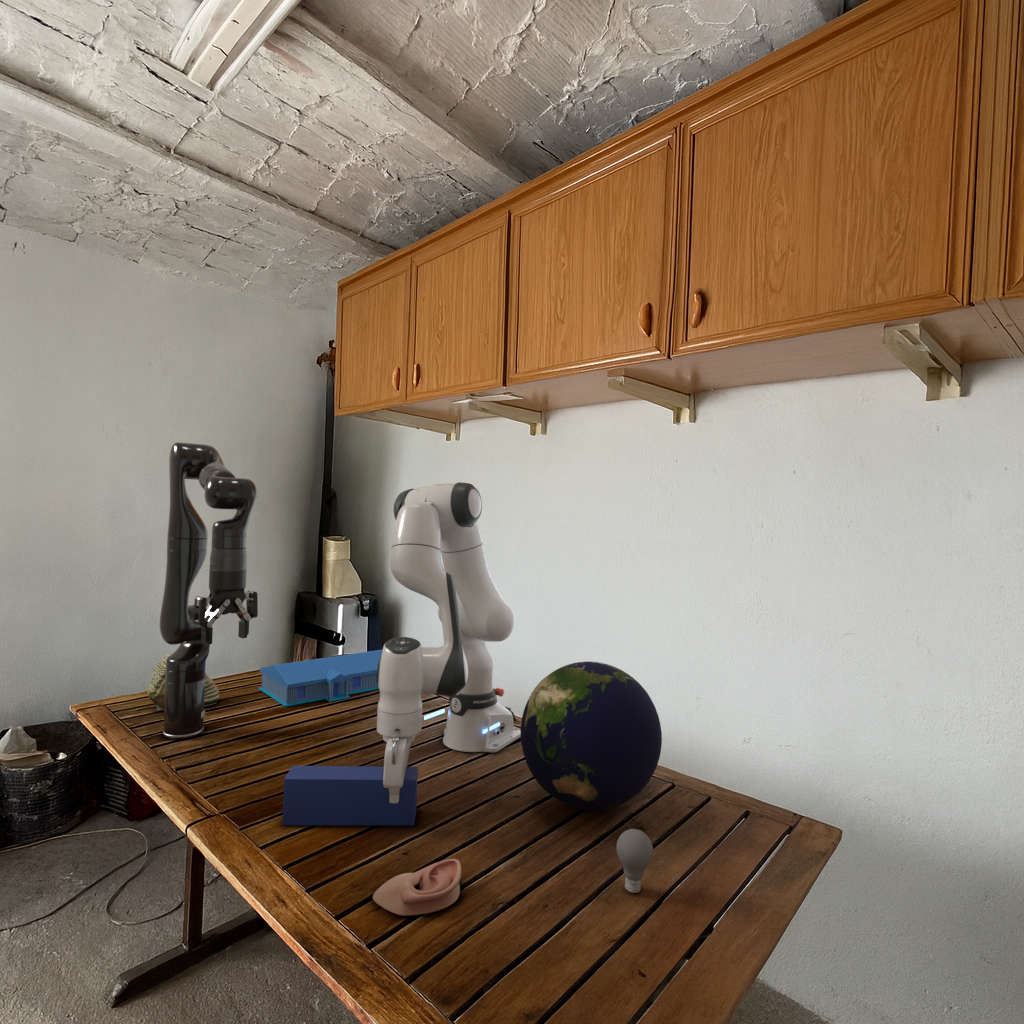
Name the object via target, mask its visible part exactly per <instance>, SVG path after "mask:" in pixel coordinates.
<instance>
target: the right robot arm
mask: <svg viewBox="0 0 1024 1024" xmlns="http://www.w3.org/2000/svg"><path fill="white" fill-rule="evenodd" d="M482 509H483V501H482V496H481V493H480V491H479V490H478V489H477V488H476V487H475V486H474V485H473V484H472V483H468V482H460V481H459V482H456V483H435V484H431V485H427V486H422V487H418V488H408V489H405V490H403V491H402V492H400V493H399V494H398V495H397V496H396V498H395V500H394V502H393V516H394V519H395V523H394V528H393V532H392V537H391V538H392V539H391V545H390V546H391V547H390V571H391V574H392V576H393V577H394V579H395V580H396V581H397V582H398V583H399V584H400V585H402V586H403V587H404V588H406V589H408V590H410V591H412V592H415V593H416V594H419V595H421V596H424V597H426V598H428V599H430V600H431V601H433V602H434V603H435V604H436V605H437V606H438V607H437V608H438V609H437V615H438V619H439V620H440V622H441V626H442V636H443V644H442V645H441V646H438V647H431V646H422V643H421V642H420V641H419V640H418V639H416V638H414V637H410V636H409V637H408V636H397V637H393V638H390V639H389V640H387V641H385V643H383V647H382V650H383V651H382V656H381V657H380V658H379V660H378V664H377V684H378V686H379V689H378V690H379V700H378V702H377V712H376V732H377V733H378V734H379V735H381V736H382V740H383V741H384V742H385V743H386V745H385V749H384V750H385V751H384V760H383V767H384V774H383V785H384V788H389V794H390V797H389V802H390V803H398V802H399V795H400V788H402V786H403V782H404V777H405V772H406V767H408V766H407V765H408V761H409V756H410V750H411V746H412V742H413V741H414V740H415V738H416V735H419V734H420V732H421V731H422V729H423V728H422V725H423V724H422V723H423V720H425V721H426V720H429V719H431V718H434V717H437V716H439V715H442V714H445V712H446V711H445V710H446V709H439V710H437V711H435V712H432V713H429V714H426V715H424V717H423V701H422V694H425V695H436V696H444V697H448V702H449V706H448V712H447V718H446V726H445V728H444V729H443V739H442V744H443V745H444V746H446V747H447V748H449V749H451V750H454V751H458V752H463V753H465V752H466V753H480V752H481V753H483V752H484V753H498V752H499V751H501V750H502V749H505V748H506V747H507V746H509V745H510V744H512V743H514V742H515V741H516V740H518V739H519V738H520V739H521V729H519V727H515V726H514V725H515V724H514V723H515V722H517V721H518V720H517V718H516V716H515V713H514V712H513V711H512V707H509V706H504V705H503V704H501V703H500V702H499V701H498V697H503V696H504V694H505V690H504V688H500V687H496V688H494V681H495V680H494V679H495V660H494V657H493V655H492V653H491V652H490V650H489V648H488V646H487V643H486V642H493V643H494V642H495V643H496V642H498V643H499V642H503V641H505V640H507V639H508V638H509V637H510V636H511V635H512V633H513V632H514V629H515V625H516V615H515V612H514V610H513V609H512V608H511V607H510V606H509V605H508V603H506V601H505V600H504V598H503V596H502V595H501V594H500V592H499V590H498V587H497V586H496V584H495V582H494V580H493V577H492V576H491V575H492V574H491V573H490V569H489V566H488V561H487V556H486V552H485V547H484V542H483V537H482V534H481V530H480V527H479V523H478V520H479V519H480V517H481V515H482ZM497 696H498V697H497Z"/></svg>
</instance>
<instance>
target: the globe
mask: <svg viewBox="0 0 1024 1024" xmlns="http://www.w3.org/2000/svg"><path fill="white" fill-rule="evenodd" d="M521 716H522V717H521V721H520V722H521V723H520V731H521V737H520V744H521V749H522V750H521V751H522V753H523V754H522V755H523V757H524V760H525V763H526V765H527V768H528V769H529V772H530V773H531V775H532V777H533V779H534V780H535V781H536V782H537V784H538V785H539V786H540V787H541V788H542V789H543V790H544V791H545V792H546V793H547V794H549V796H551V797H552V798H554V799H555V800H557V801H558V802H560V803H562V804H564V805H566V806H569V807H572V808H575V809H579V810H582V811H583V810H584V811H603V810H604V811H605V810H609V809H613V808H616V807H619V806H622V805H623V804H626V803H627V802H629V801H631V800H632V799H633V798H635V797H637V795H638V794H639V793H641V792H642V791H643V789H644V788H645V787H646V786H647V784H649V782H650V781H651V780H652V779H651V778H652V777H653V775H654V774H655V772H656V769H657V767H658V764H659V761H660V757H661V753H662V745H663V743H662V742H663V734H662V726H661V720H660V717H659V713H658V710H657V708H656V705H655V703H654V702H653V699H652V698H651V696H650V694H649V693H648V692H647V690H646V689H645V688H644V687H643V686H642V685H641V684H640V683H639V681H638V680H636V679H635V678H634V677H633V676H632V675H630V674H629V673H627V672H626V671H624V670H622V669H621V668H618V667H617V666H614V665H611V664H608V663H604V662H599V661H593V660H592V661H591V660H590V661H578V662H577V661H576V662H572V663H569V664H566V665H564V666H561V667H559V668H557V669H555V670H553V671H552V672H550V673H549V674H547V675H546V676H545V677H544V678H542V679H541V680H540V681H539V683H538V684H537V685H536V686H535V687H534V689H533V690H532V691H531V693H530V695H529V697H528V699H527V701H526V704H525V705H524V709H523V712H522V715H521Z"/></svg>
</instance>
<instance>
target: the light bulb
mask: <svg viewBox="0 0 1024 1024" xmlns="http://www.w3.org/2000/svg"><path fill="white" fill-rule="evenodd" d="M615 849H616V854H617V857H618V859H619V861H620V863H621V865H622V867H623V873H624V874H623V875H624V876H625V878H624V888H625V890H627V891H628V892H630V893H634V894H635V893H639V892H640V891H641V889H642V887H641V886H642V879H643V877H644V875H645V871H646V868H647V867H648V866H649V864H650V863H651V861H652V859H653V855H654V847H653V843H652V841H651V838H649V836H648V835H647V834H646V833H645V832H643V831H642V830H641V829H636V828H629V829H627V830H625V831H623V832H622V833H621V834H620V835H619V837H618V839H617V841H616V847H615Z"/></svg>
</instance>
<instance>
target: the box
mask: <svg viewBox="0 0 1024 1024" xmlns="http://www.w3.org/2000/svg"><path fill="white" fill-rule="evenodd" d="M383 774H384V766H375V765H374V766H371V765H370V766H369V765H367V766H366V765H361V766H360V765H358V766H357V765H355V766H354V765H292V766H291V768H290V770H289V771H288V773H287V774H286V776H285V777H284V778H283V799H282V800H283V802H282V803H283V804H282V826H415V824H416V823H415V822H416V815H417V804H418V778H419V775H418V774H419V767H418V766H406V772H405V777H404V782H403V786H402V788H400V795H399V802H398V803H390V802H389V797H390V794H389V788H384V785H383Z"/></svg>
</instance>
